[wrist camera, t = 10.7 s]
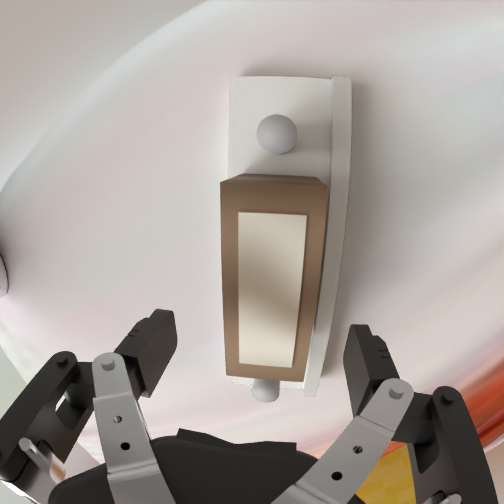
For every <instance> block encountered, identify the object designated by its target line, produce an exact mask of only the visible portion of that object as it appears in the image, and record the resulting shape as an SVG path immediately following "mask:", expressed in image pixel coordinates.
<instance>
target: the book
mask: <svg viewBox="0 0 504 504" xmlns="http://www.w3.org/2000/svg"><path fill="white" fill-rule="evenodd" d="M355 494H356V495H357V496H358V497H359V498H361V499H362V500H363V501H364V502H365V503H366V504H416V497H415V490H414V483H413V476H412V470H411V464H410V458H409V453H408V447H407V444H405V445H404V446H402V447H400V448H398V449H396V450H394V451H393V452H391V453H389V454H387V455H385V456H383V457H381V458H379V460H378V462H377V463H376V465H375V466H374V468H373V469H372V471H371V472H370V473H369V475H368V476H367V478H366V479H365V480H364V482H363V483H362V485H361V486H360V487H359V489H358V490H357V491H356V493H355Z"/></svg>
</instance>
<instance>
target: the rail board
mask: <svg viewBox="0 0 504 504" xmlns="http://www.w3.org/2000/svg"><path fill="white" fill-rule="evenodd" d="M351 132H352V86H351V78H349V77H341V76H332V78H331V79H322V78H308V77H287V76H245V77H230V92H229V159H228V179H230V178H232V177H235V176H237V175H240V174H273V175H295V176H311V177H317V178H318V179H319V180H321V181H322V182H323V183H324V184H325V185H326V186H327V202H326V215H325V228H324V239H323V249H322V259H321V268H320V277H319V285H318V293H317V301H316V308H315V315H314V322H313V329H312V335H311V342H310V348H309V354H308V360H307V365H306V371H305V376H304V382H292V381H277V380H265V379H254V378H245V377H236V376H232V383H238V384H247V385H253V387H252V396H253V397H254V398H255V399H256V400H258V401H261V402H272V401H275V400H276V399H277V398H278V397H279V390H280V388H295V389H303V396H308V397H316V393H317V389H318V385H319V381H320V376H321V372H322V368H323V363H324V359H325V354H326V349H327V344H328V339H329V334H330V329H331V324H332V318H333V313H334V307H335V301H336V295H337V289H338V282H339V275H340V268H341V261H342V253H343V245H344V236H345V227H346V217H347V206H348V193H349V179H350V161H351Z"/></svg>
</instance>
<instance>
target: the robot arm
mask: <svg viewBox="0 0 504 504" xmlns="http://www.w3.org/2000/svg"><path fill="white" fill-rule="evenodd" d="M7 289H8V281H7V275H6V270H5V267H4V264H3V261H2V258H1V256H0V297H2V296H3V295H5V294H6V292H7ZM176 347H177V333H176V326H175V319H174V313H173V311H170V310H163V309H156V310H155V311H154V312H153V313H152V315H151V316H150V317H149V318H144V319H142V320H141V321H139V322H137V323H136V325H135V326H134V327H133V328H132V330H131V331H130V332H129V333H128V336H126V337H125V338H124V339H123V341H122V342H121V343H120V344H119V346H118V347H117V348H116V349H115V351H114V352H113V353H104V354H101V355H99V356H98V357H96V358H95V359H94V361H93V362H78V361H77V358H76V356H75V354H74V353H72V352H69V351H62V352H58V353H56V354H54V355H53V356H52V357H51V358H50V359H49V360H48V361H47V363H46V364H45V365H44V366H43V367H42V368H41V370H40V371H39V372H38V373H37V374H36V375H35V377H34V378H33V379H32V380H31V381H30V383H29V384H28V385H27V386H26V388H25V389H24V390H23V391H22V392H21V394H20V395H19V396H18V398H17V399H16V400H15V401H14V403H13V404H12V405H11V406H10V408H9V409H8V410H7V412H6V413H5V414H4V416H3V417H2V418H1V420H0V480H1V481H3V482H4V483H5V484H6V485H7V486H8V487H10V488H11V489H12V490H13V491H15V492H16V493H17V494H20V495H21V496H22V497H24V498H25V499H26V500H28V501H29V502H31V503H34V504H366V503H365V502H364V501H363V500H362V499H361V498H359V497H358V496H357V495H356V494H355V493H356V491H357V490H358V489H359V487H360V486H361V485H362V483H363V482H364V480H365V479H366V478H367V476H368V475H369V473H370V472H371V471H372V469H373V468H374V466H375V465H376V463H377V462H378V460H379V458H380V457H381V455H382V454H383V452H384V451H385V449H386V447H387V446H388V444H389V442H390V441H398V442H405V443H407V447H408V453H409V458H410V464H411V470H412V476H413V483H414V490H415V497H416V504H498V499H497V495H496V491H495V487H494V483H493V480H492V476H491V473H490V470H489V466H488V464H487V460H486V457H485V454H484V451H483V448H482V445H481V442H480V440H479V437H478V434H477V432H476V429H475V426H474V424H473V421H472V419H471V416H470V414H469V412H468V409H467V407H466V405H465V402H464V400H463V398H462V396H461V394H460V393H459V392H458V391H457V390H456V389H454V388H452V387H449V386H441V387H438V388H437V389H436V390H435V391H434V392H433V394H432V395H428V394H421V393H416V392H414V391H413V388H412V386H411V385H410V384H409V383H407V382H406V381H404V380H401V379H400V377H399V375H398V372H397V370H396V367H395V365H394V362H393V360H392V358H391V355H390V353H389V352H388V348H387V346H386V343H385V342H384V341H383V340H382V339H381V338H380V337H379V336H378V335H377V336H372V333H371V331H370V328H369V326H368V325H358V324H352V325H351V326H350V329H349V334H348V338H347V342H346V346H345V350H344V356H343V364H344V369H345V374H346V379H347V385H348V390H349V395H350V401H351V407H352V412H353V418H354V419H353V420H352V421H351V423H350V424H349V425H348V426H347V428H346V429H345V430H344V431H343V433H342V434H341V435H340V436H339V437H338V439H337V440H336V441H335V442H334V443H333V444H332V446H331V447H330V448H329V449H328V450H327V451H326V452H325V453H324V455H323V456H322V457H321V458H320V459H317V458H315V457H314V456H311V455H309V454H307V453H304V452H301V451H297V450H296V443H293V442H273V441H264V442H255V443H244V444H233V443H230V442H227V441H225V440H222V439H219V438H217V437H214V436H211V435H209V434H206V433H201V432H195V431H190V430H185V429H181V428H179V430H178V433H177V435H176V436H174V435H173V436H164V437H159V438H155V439H153V440H152V438H151V436H150V433H149V431H148V428H147V425H146V423H145V420H144V417H143V414H142V411H141V408H140V405H139V403H138V399H139V398H140V396H143V397H147V398H150V397H151V395H152V393H153V391H154V389H155V387H156V385H157V383H158V382H159V380H160V378H161V376H162V374H163V372H164V370H165V369H166V367H167V365H168V363H169V361H170V359H171V358H172V356H173V354H174V352H175V350H176ZM63 394H64V396H65V399H64V401H63V402H62V404H61V405H60V407H59V408H58V410H57V411H55V409H56V405H57V403H58V401H59V400H60V399H61V397H62V396H63ZM93 411H95V417H96V422H97V427H98V432H99V437H100V442H101V446H102V450H103V454H104V458H105V463H103V464H101V465H99V466H97V467H95V468H92V469H90V470H87V471H85V472H83V473H80V474H78V475H76V476H73V477H71V478H68V479H66V478H65V473H66V471H65V467H64V463H65V461H66V459H67V457H68V455H69V453H70V452H71V450H72V448H73V446H74V444H75V442H76V441H77V439H78V437H79V435H80V433H81V432H82V430H83V428H84V426H85V425H86V423H87V421H88V419H89V418H90V416H91V414H92V412H93Z"/></svg>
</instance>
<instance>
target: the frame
mask: <svg viewBox="0 0 504 504" xmlns="http://www.w3.org/2000/svg"><path fill="white" fill-rule="evenodd" d="M220 201H221V260H222V293H223V319H224V341H225V361H226V375H228V376H236V377H245V378H254V379H265V380H277V381H292V382H304V376H305V371H306V365H307V360H308V354H309V348H310V342H311V335H312V329H313V322H314V315H315V308H316V301H317V293H318V285H319V277H320V268H321V259H322V249H323V239H324V228H325V215H326V202H327V186H326V185H325V184H324V183H323V182H322V181H321V180H319V179H318V178H317V177H311V176H295V175H273V174H240V175H237V176H235V177H232V178H230V179H228V180H225V181H223V182H220Z"/></svg>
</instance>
